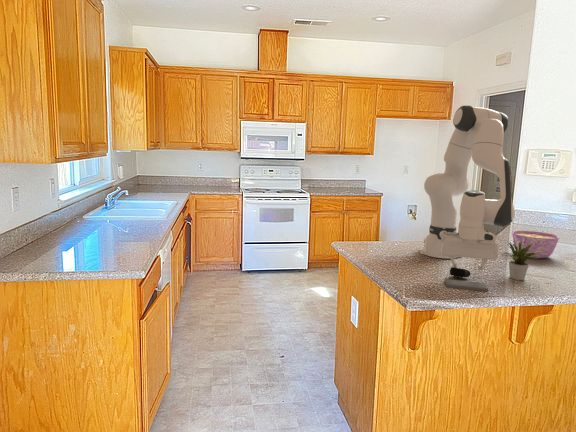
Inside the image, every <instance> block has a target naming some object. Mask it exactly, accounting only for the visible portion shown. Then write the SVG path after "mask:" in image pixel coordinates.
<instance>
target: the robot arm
mask: <svg viewBox="0 0 576 432" xmlns="http://www.w3.org/2000/svg"><path fill="white" fill-rule="evenodd" d="M452 123H453V126H454V128H455V129H454V130H453V132H452V134H451V136H450V139H449V142H448V143H447V144H448V145H447V147H446V151H445V153H444V155H443V161H444V162H445V169H444V173H440V172H439V173H434V174H431V175H429V176H428V177H427V178H426V179H425V181H424V183H423V184H424V185H423V186H424V187H423V188H424V191H425V193H426V194H427V195H428V196H429V197H428V198H429V200H430V207H431V217H430V218H431V220H430V225H429V227H428V228H429V229H428V232H429V234H428V235H426V237H425V238H424V239H423V248H421V250H420V251H419V254H421V255H425V256H428V257H432V258H437V259H450V261H451V267H452V268H458V267H457V266H458V265H457V264H458V263H457V262H454V260H455V259H457V258H469V259H478V260H480V259H481V261H482V262H481V263H480V264H478V265H477V269H478V271H483V270H484V267H485V265H486V264H487V262H488V260H493V261H496V260H497V259H498V257H499V245H498V243H497V242H496V240H497V236H496V234H494V233H493V232H490V231H489V230H485V229H484V228H485V225H494V226H496V227H502V228H504V227H506V226H509V225H510V224H511V223H513V222H514V219H515V214H516V213H515V205H514V200H513V183H512V182H513V181H512V180H513V179H512V170H511V163H510V161H509V159H507V158H505V156H504V152H503V150H504V149H503V148H504V141H505V140H504V139H505V138H504V135H505V134H504V133H505V132H506V131H507V129H508V127H509V117H508V116H507V115H506V113H503V112H501V111H496V110H493V109H490V108H486V107H478V106H472V105H461V106H460V107H459V108H457V109H456V111H455V113H454V115H453V120H452ZM471 159H472V161H473V162H474V164H475V165H476V166H478V167H479V168H481V169H483V170H485V171H488V172H489V173H492V174H495V175H496V176H497V177H498V180H499V188H500V189H499V193H500V198H499V199H489V198H487V199H486V194H485V192H483V191H480V190H468V189H469V180H468V178H467V177H468V167H469V163H470V160H471ZM461 195H462V197H461V202H460V206H459V207H460V208H459V216H460V220H459V223H458V227H457V226H456V225H457V214H458V211H457V208H456V207H455V206H454V201H453V197H459V196H461ZM457 228H458V231H457Z"/></svg>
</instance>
